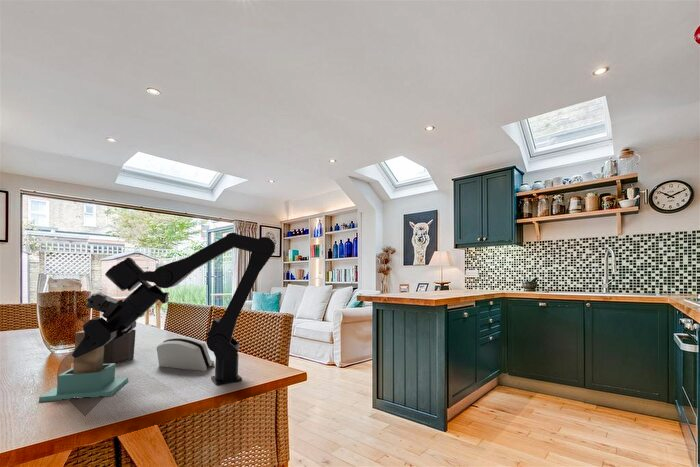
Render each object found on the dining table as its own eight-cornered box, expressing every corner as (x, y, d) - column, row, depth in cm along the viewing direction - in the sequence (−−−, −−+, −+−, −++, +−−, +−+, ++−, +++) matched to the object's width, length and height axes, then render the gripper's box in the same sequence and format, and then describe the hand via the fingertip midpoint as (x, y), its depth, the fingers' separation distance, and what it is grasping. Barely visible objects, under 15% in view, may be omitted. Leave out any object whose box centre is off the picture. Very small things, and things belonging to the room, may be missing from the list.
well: (127, 381, 92) (129, 361, 93) (111, 395, 82) (112, 373, 82) (64, 385, 89) (66, 365, 89) (38, 401, 78) (40, 378, 79)
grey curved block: (216, 366, 106) (209, 336, 104) (205, 376, 102) (198, 344, 100) (171, 361, 112) (164, 332, 109) (159, 370, 107) (151, 341, 105)
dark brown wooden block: (76, 365, 108) (80, 304, 110) (110, 356, 119) (113, 301, 121) (116, 368, 104) (120, 306, 106) (147, 359, 115) (150, 302, 116)
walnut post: (101, 382, 88) (105, 328, 90) (94, 388, 84) (97, 331, 85) (80, 384, 87) (84, 329, 88) (71, 390, 83) (75, 332, 84)
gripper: (125, 280, 98) (76, 323, 94) (96, 283, 80) (33, 336, 76) (155, 308, 99) (108, 352, 95) (133, 317, 81) (73, 371, 77)
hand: (83, 352), depth 86 cm, fingers open, 9 cm apart
